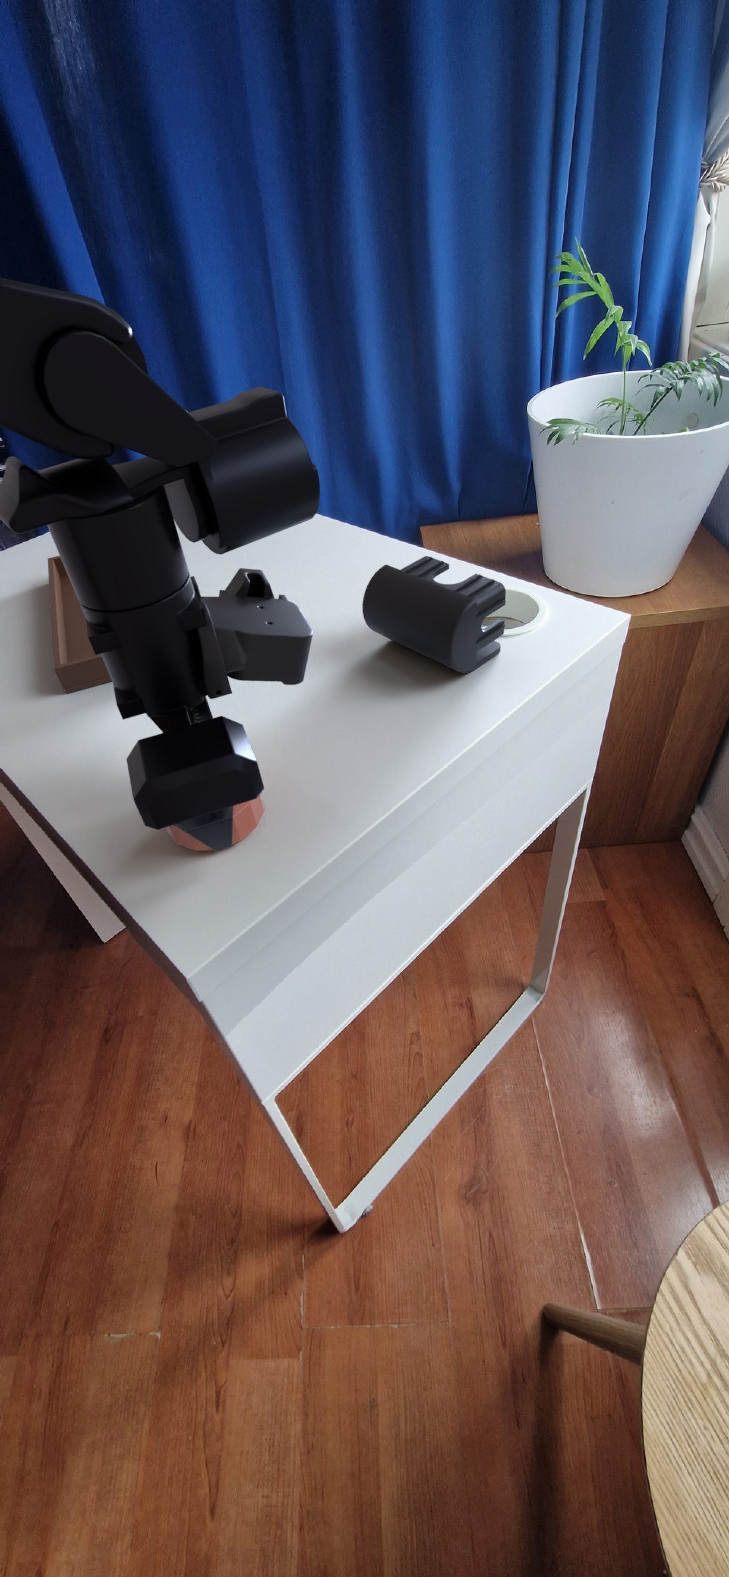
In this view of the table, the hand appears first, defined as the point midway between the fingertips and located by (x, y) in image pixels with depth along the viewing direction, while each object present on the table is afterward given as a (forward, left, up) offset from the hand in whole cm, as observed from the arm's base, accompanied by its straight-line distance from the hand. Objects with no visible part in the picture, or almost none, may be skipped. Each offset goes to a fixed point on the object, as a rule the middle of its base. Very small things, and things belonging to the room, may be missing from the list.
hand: (209, 800), depth 47 cm
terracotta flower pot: (0, 0, -2) cm, 2 cm away
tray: (+6, +33, -2) cm, 33 cm away
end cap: (+24, +5, -2) cm, 25 cm away
